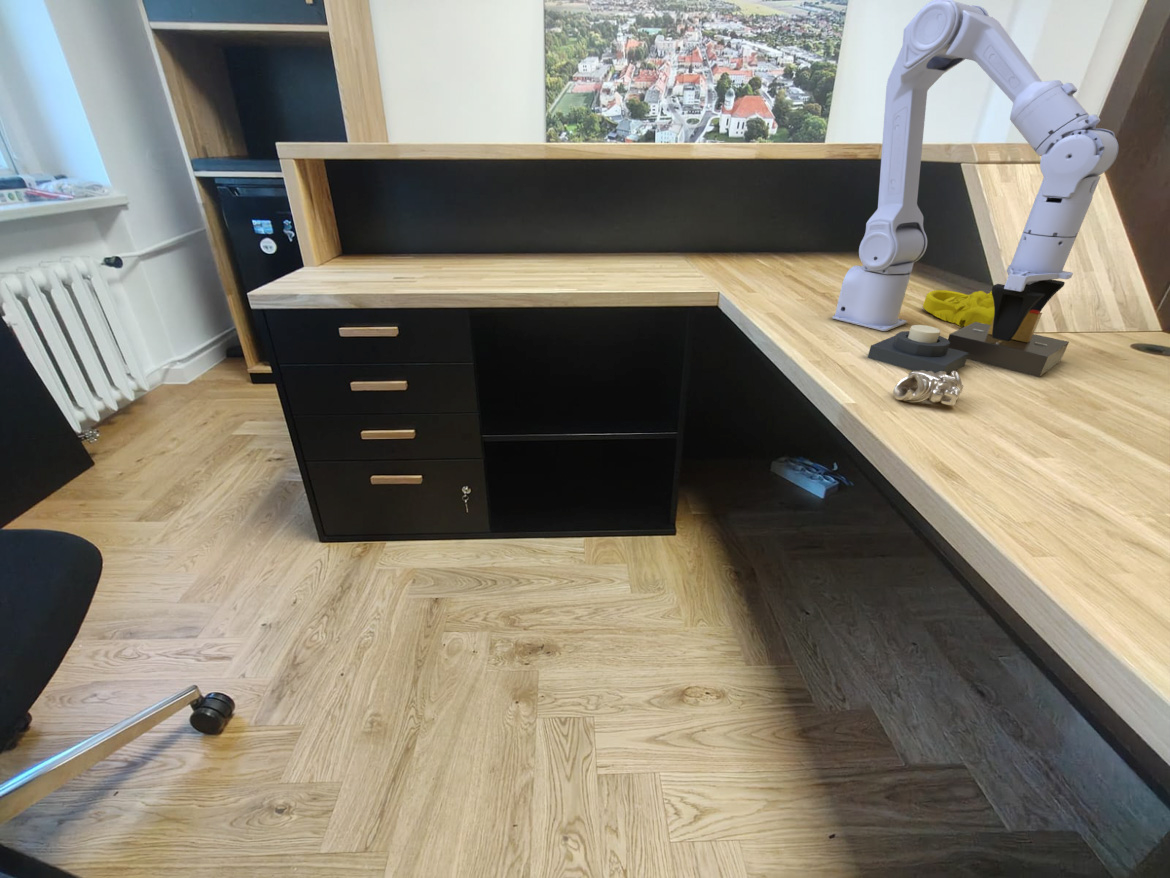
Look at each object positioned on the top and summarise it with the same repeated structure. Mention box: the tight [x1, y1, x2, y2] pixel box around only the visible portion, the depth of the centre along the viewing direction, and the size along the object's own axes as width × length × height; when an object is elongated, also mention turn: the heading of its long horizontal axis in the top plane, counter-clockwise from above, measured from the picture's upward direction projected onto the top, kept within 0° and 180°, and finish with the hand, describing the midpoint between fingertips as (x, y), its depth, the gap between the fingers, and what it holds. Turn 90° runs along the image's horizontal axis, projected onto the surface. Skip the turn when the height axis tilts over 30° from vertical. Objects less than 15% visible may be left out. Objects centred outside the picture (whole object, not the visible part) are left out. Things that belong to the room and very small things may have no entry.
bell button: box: [908, 324, 941, 343], centre depth 77 cm, size 4×4×2 cm
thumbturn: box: [988, 310, 1043, 343], centre depth 78 cm, size 5×1×4 cm, turn 39°
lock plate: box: [947, 322, 1070, 378], centre depth 80 cm, size 12×10×3 cm
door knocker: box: [922, 289, 994, 328], centre depth 99 cm, size 17×16×4 cm
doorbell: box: [867, 330, 969, 376], centre depth 78 cm, size 10×8×4 cm
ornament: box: [892, 370, 964, 406], centre depth 66 cm, size 8×7×4 cm
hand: (1009, 334), depth 79 cm, fingers open, 7 cm apart
